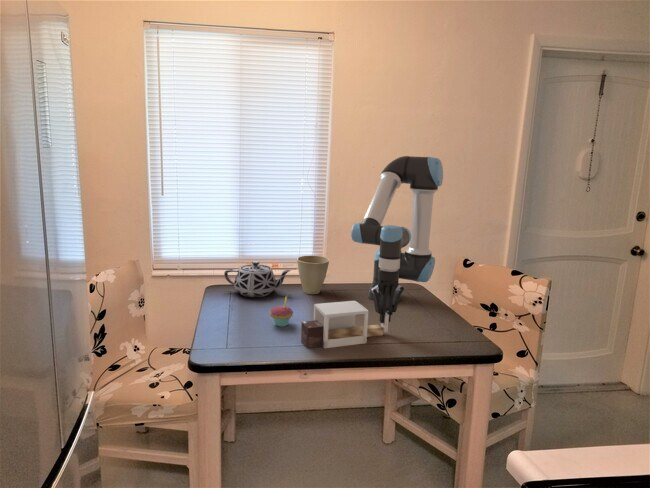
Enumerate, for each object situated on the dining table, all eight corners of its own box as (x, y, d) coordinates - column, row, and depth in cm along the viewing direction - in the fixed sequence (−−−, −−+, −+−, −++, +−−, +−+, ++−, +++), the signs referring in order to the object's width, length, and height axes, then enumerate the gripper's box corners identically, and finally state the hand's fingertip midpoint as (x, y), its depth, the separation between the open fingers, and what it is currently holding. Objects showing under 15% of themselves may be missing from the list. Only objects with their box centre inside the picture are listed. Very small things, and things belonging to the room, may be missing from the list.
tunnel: (353, 331, 170) (355, 300, 167) (366, 343, 160) (368, 310, 157) (312, 335, 164) (314, 304, 161) (323, 348, 154) (325, 314, 151)
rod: (379, 331, 170) (379, 324, 170) (382, 334, 168) (383, 327, 167) (316, 339, 161) (316, 331, 160) (319, 342, 158) (319, 334, 158)
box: (323, 346, 155) (324, 326, 154) (306, 348, 153) (307, 328, 152) (316, 339, 161) (317, 319, 159) (300, 341, 159) (301, 321, 157)
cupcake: (295, 322, 176) (296, 292, 173) (286, 330, 168) (287, 299, 166) (275, 318, 179) (276, 289, 176) (265, 326, 171) (266, 295, 168)
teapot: (288, 301, 199) (289, 268, 196) (218, 298, 200) (218, 265, 197) (292, 289, 218) (293, 258, 215) (229, 285, 218) (229, 255, 215)
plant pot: (289, 292, 212) (290, 259, 209) (308, 285, 224) (309, 253, 221) (315, 299, 204) (316, 264, 201) (333, 291, 216) (335, 259, 213)
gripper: (399, 265, 169) (394, 325, 174) (367, 267, 164) (363, 328, 169) (410, 270, 162) (404, 332, 167) (377, 272, 157) (373, 336, 162)
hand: (384, 330), depth 168 cm, fingers closed
